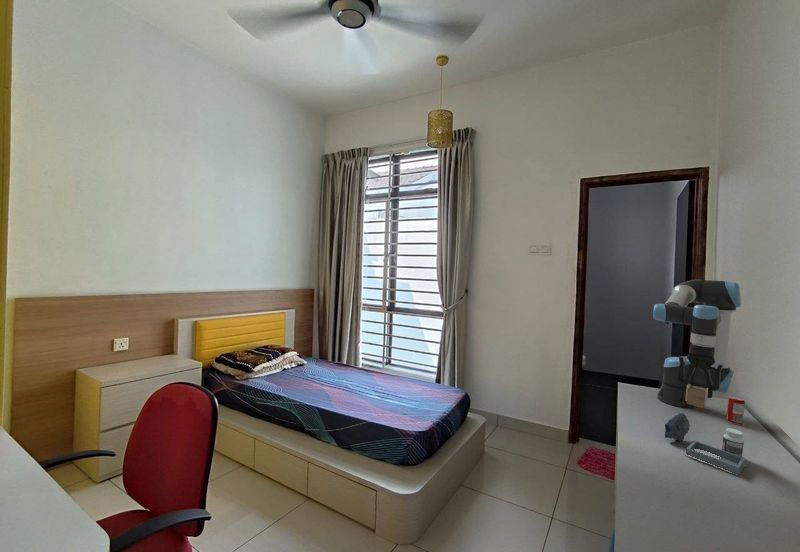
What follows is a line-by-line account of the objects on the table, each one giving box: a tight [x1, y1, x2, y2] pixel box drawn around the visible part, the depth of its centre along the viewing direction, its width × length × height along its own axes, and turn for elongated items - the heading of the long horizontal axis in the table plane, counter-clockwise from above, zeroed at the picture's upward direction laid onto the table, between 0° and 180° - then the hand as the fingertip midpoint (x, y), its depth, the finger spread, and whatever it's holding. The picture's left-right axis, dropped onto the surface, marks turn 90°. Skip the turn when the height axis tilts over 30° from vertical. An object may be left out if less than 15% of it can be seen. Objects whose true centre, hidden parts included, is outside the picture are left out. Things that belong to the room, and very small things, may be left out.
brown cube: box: [686, 386, 705, 409], centre depth 141 cm, size 6×5×6 cm
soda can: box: [726, 395, 746, 426], centre depth 165 cm, size 6×6×12 cm
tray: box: [685, 440, 746, 476], centre depth 132 cm, size 11×15×3 cm
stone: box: [664, 412, 691, 443], centre depth 147 cm, size 14×6×10 cm, turn 129°
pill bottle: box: [721, 427, 745, 457], centre depth 135 cm, size 6×6×10 cm
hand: (696, 402), depth 141 cm, fingers closed on brown cube, 5 cm apart
